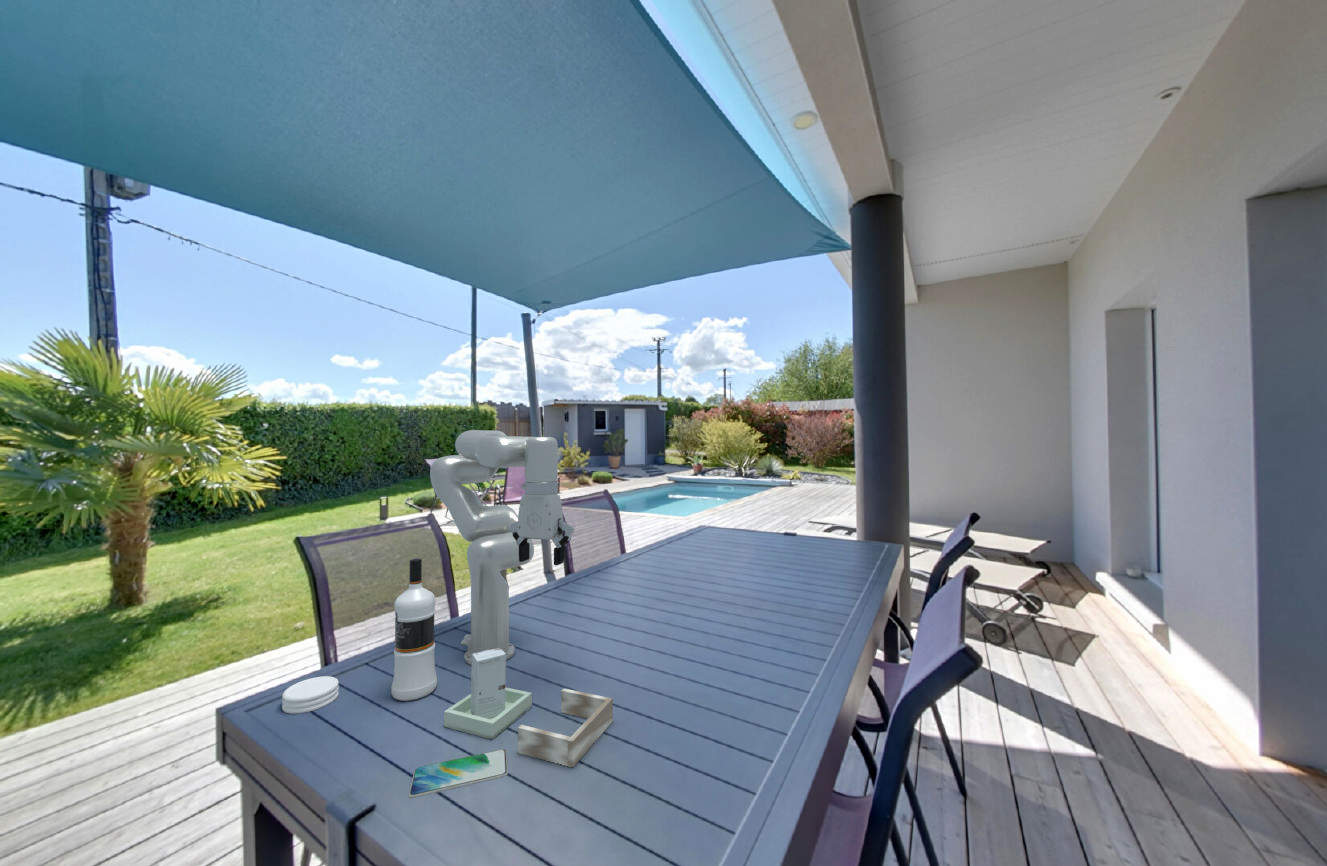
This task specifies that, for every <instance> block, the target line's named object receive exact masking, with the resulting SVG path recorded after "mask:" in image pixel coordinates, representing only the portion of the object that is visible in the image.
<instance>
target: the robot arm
mask: <svg viewBox="0 0 1327 866" xmlns="http://www.w3.org/2000/svg"><path fill="white" fill-rule="evenodd" d="M558 445H559V444H558V441H557V438H555V437H551V436H521V435H520V436H514V435H513V436H512V435H509V436H507V434H506V433H504V432H503V431H500V430H487V429H485V430H484V429H481V430H480V429H470V430H466V431H463V432H462V433H460V434H459V435H458V437H456V440H455V444H454V447H455V451H456V453H457V454H454V455H453V454H452V455H446V456H442V457H439V458H436V459H435V460H434V461H433V462H432V463H431V465H430V470H429V478H430V482H431V483H430V484H431V486H432V489H433V491H434V492H435V495H436V497H437V498H438V499H439V500H440V501H441V502H442V503H443V504H444V506H445V508H447V510H448V511H449V513H450V516H451V518H452V520H453V522H454V524H455V526H456V527H457V530H458V532H459V534H460V535H461V537H462V539H463V540H465V541H467V542H469V543H470V544H468V547H467V550H466V559H467V564H468V570H469V576H470V577H469V578H470V634H465V636H463V639H462V640H461V642H460V644H461V645H462V646H465V647H467V651H465V653H464V657H463V658H464V662H466V663H467V664H468V665H471V666H472V654H474V653H479V652H482V651H486V650H492V649H497V648H501V649H502V650H503V651H504V653H505V654H506V661H507V660H509V659H511V658H512V657H513V656H514V655H515V653H516V652H515V651H516V647H515V646H514V644H512V643H510V641H509V639H510V635H509V634H510V588H509V583H508V581H507V580H506V579H505V578H504V577H503V575H502V574H501V571H504V570H508V569H514V568H517V567H521V566H524V565H526V564H529V563H530V562H531V560H532V559H533V557H534V554H535V547H534V542H533V540H541V541H542V540H545V541H547V540H548V541H549V540H551V541H552V543H553V544H554V546H555V547H554V548H553V565H554V566H559V565H561V564H564V562H565V546H567V545H568V543H569V542H570V541H571V539H572V537H573V534H574V532H575V528H574V527H573V526H571V525H570V524H568V523H567V522H565V521H564V514H563V513H564V512H563V505H562V500H561V495H560V494H559V493H558V492H559V491H558V488H559V487H558V485H559V484H558V483H559V482H558V479H559V478H558V477H559V476H558V472H559V471H558V468H559V467H558V460H559V459H558V458H559V457H558V454H559V453H558ZM507 468H508V469H509V468H524V483H522V484H521V489H522V490H524V494H523V495H521V497H520V502H519V508H518V513H517V512H516V511H515V509H513V508H512V507H510V506H508V505H505V504H496V505H484V504H483V503H482V501H481V500H480V498H479V496H478V495H477V494H476V492H474V491H473V490H472V489H470V488H468V487H467V486H465V485H463V484H475V483H476V484H477V483H486V482H489V481H491V479H493V478H494V476H495V475H496V473H497V472H498V470H499V469H507ZM564 532H565V533H564ZM563 533H564V536H563Z"/></svg>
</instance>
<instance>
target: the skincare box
mask: <svg viewBox="0 0 1327 866" xmlns="http://www.w3.org/2000/svg"><path fill="white" fill-rule="evenodd" d="M506 670H507V660H506V654H505V653H504V651H503V650H502V649H501V648H497V649H492V650H486V651H482V652H479V653H474V654H472V665H471V670H470V671H471V674H470V675H471V676H470V677H471V678H470V680H471V681H470V682H471V683H470V688H471V689H470V694H471V714H472V715H475V716H479V717H483V718H487V719H488V718H492V717H495V716H498V715H499V714H500V713H502V712H503V711H504V710H505V687H506V681H507V680H506V679H507V678H506V676H507V675H506V674H507V671H506Z"/></svg>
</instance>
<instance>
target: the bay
mask: <svg viewBox="0 0 1327 866" xmlns="http://www.w3.org/2000/svg"><path fill="white" fill-rule="evenodd" d="M560 693H561V694H560V695H561V699H560V701H561V702H560V704H561V705H560V708H561V712H560V713H563V714H567V715H571V716H574V715H575V716H576V717H578V718H583V719H584V718H585V719H586V720H585V721H584V723H583V724H581V726H579V728H577V730H576V731H575V732H574V733H573V734H572V735H571V736H568V735H566V734H561V733H557V732H554V731H553V732H552V731H549V730H546V729H541V728H538V727H532V726H528V725H524V724H521V725H519V726H518V727H517V753H518V754H521V755H524V756H528V757H531V758H535V759H540V760H542V759H543V760H542V761H546V762H549V761H550V763H553V762H554V764H557V763H559V764H558V765H560V764H562V765H561V766H564V765H565V766H564V767H567V766H568V767H569V768H571V767H573V768H575V766H577V764H578V762H580V760H581V759H582V758H583V757H584V755H585V754H586V753H587V752H588V750H590V749H591V747H592V746H593V745H594V744H595V743H596V741H597V740H598V739H599V738H600V737H601V735H603V733H604V732H605V731H606V730H607V729H608V727H609V726H610V725H611V723H613V722H614V716H613V715H614V711H613V709H614V707H613V706H614V704H613V703H614V702H613V701H614V700H613V699H614V698H613V697H607V696H602V695H597V694H592V693H588V692H583V691H579V690H578V691H577V690H572V689H569V688H562V689H561V690H560ZM593 743H594V744H593Z"/></svg>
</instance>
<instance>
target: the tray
mask: <svg viewBox="0 0 1327 866" xmlns="http://www.w3.org/2000/svg"><path fill="white" fill-rule="evenodd" d="M532 698H533V693H532V692H529V691H525V690H520V689H514V688H510V687H506V686H505V710H504V711H503V712H502V713H500V714H499V715H498V716H495V717H492V718H488V719H487V718H483V717H479V716H475V715H472V714H471V693H470V694H468V695H467V696H465V697H464V698H463V699H461V700H459V701H458V702H456V703H454V704H453V705H451V706H449V708H447V709H446V710H444V711H443V713H444V714H443V715H444V717H443V718H444V719H443V720H444V721H443V722H444V723H443V726H444V728H447V729H451V730H454V731H460V732H462V733H465V734H470V735H474V736H477V737H481V738H484V739H488V740H492V741H493V740H495V738H497V737H498V736H499V735H500V734H502V733H503V732H504V731H505V730H506V729H508V728H509V727H510V726H512V724H514V723H515V722H516V721H517V720H519V718H521V717H522V716H523V715H525V714H526V713H527V712H528V711H529V710H530V709H532V708H533V699H532ZM531 707H532V708H531ZM529 708H530V709H529ZM528 709H529V710H528ZM527 710H528V711H527ZM526 711H527V712H526ZM525 712H526V713H525ZM521 715H522V716H521Z"/></svg>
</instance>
